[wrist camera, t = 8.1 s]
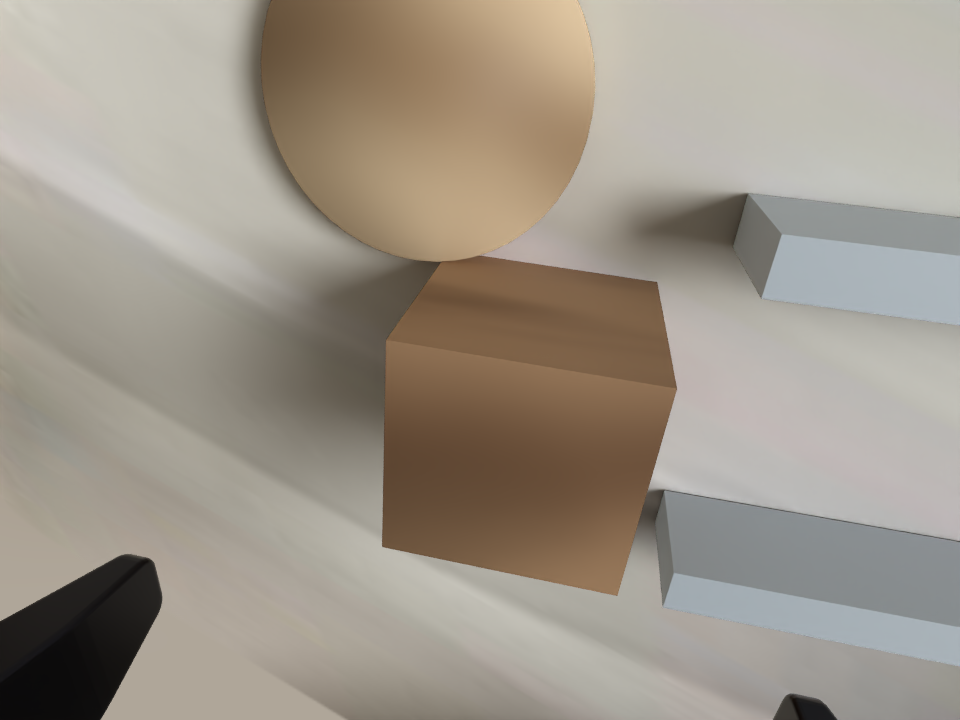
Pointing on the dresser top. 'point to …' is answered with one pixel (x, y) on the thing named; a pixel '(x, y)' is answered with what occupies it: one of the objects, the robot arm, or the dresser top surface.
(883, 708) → the dresser top surface
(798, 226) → the channel
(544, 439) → the walnut block
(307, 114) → the cork coaster
